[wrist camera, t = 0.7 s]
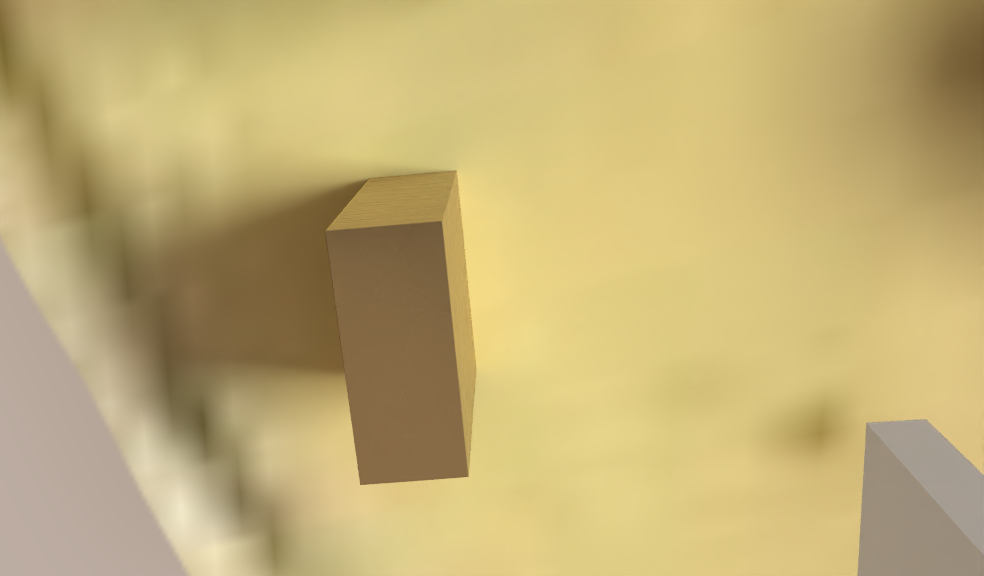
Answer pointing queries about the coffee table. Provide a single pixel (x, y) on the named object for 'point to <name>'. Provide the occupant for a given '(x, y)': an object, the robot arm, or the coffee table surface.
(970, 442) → the coffee table surface
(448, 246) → the tan flat block
